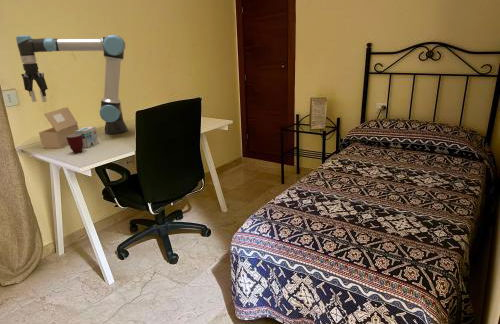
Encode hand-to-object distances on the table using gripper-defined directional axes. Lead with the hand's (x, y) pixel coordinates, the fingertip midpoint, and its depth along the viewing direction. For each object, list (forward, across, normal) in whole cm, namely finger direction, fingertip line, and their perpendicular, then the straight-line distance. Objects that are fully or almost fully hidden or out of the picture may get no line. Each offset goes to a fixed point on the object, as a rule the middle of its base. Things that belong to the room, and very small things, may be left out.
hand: (39, 101), depth 213 cm
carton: (+27, +9, 0) cm, 28 cm away
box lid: (+11, +12, 0) cm, 17 cm away
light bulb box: (+27, +30, -3) cm, 41 cm away
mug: (+27, +31, -15) cm, 44 cm away
